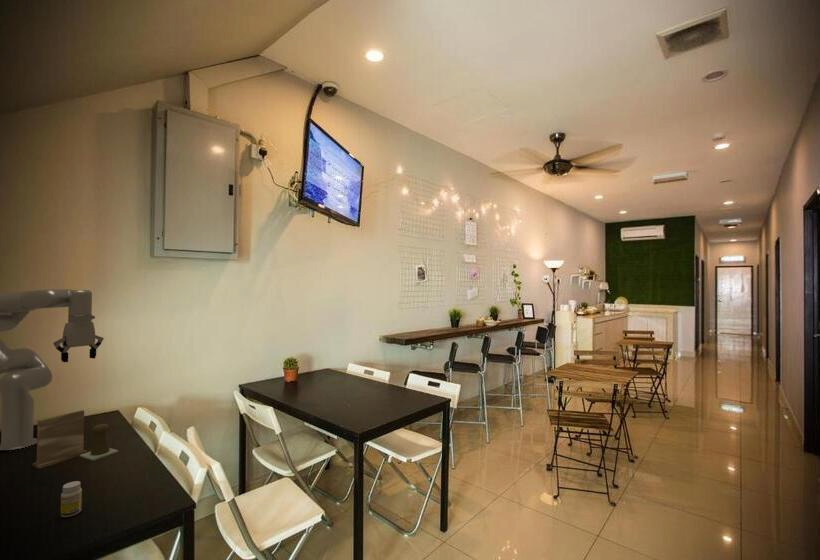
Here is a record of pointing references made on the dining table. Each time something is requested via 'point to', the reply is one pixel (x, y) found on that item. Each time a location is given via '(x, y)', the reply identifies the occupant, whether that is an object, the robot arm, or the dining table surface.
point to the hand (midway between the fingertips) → (79, 360)
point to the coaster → (91, 457)
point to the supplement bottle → (71, 499)
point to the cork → (100, 440)
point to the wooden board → (60, 438)
